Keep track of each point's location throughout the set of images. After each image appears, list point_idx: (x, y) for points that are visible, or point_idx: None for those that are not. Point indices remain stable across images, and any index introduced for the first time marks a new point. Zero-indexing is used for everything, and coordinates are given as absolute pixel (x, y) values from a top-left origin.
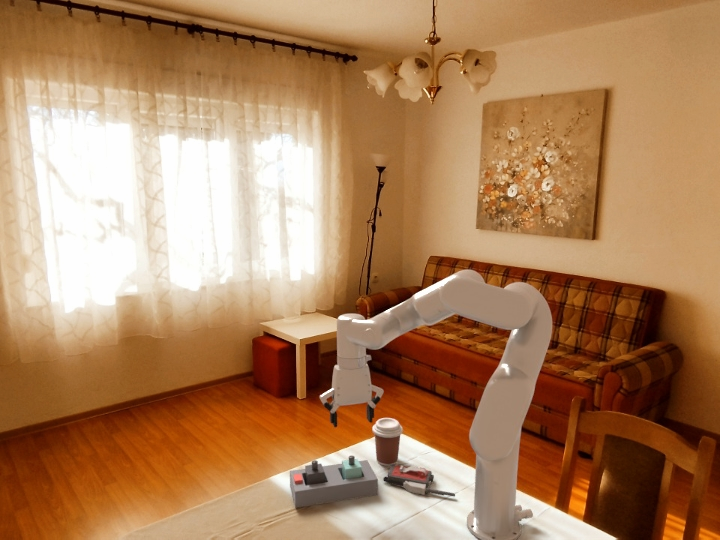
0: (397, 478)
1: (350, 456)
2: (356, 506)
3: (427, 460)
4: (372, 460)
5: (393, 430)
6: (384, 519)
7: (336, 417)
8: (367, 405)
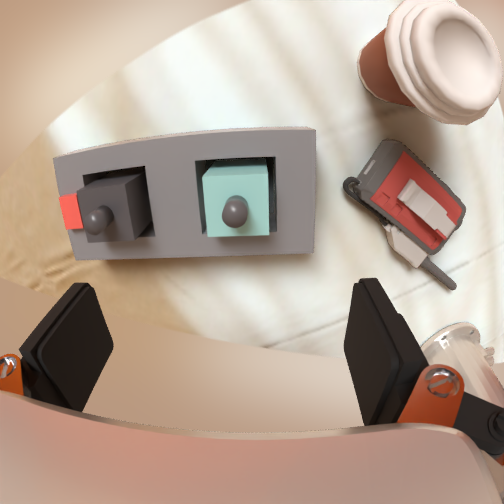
0: (379, 211)
1: (230, 210)
2: (237, 266)
3: (480, 119)
4: (345, 53)
5: (468, 110)
6: (289, 317)
7: (86, 397)
8: (394, 373)
